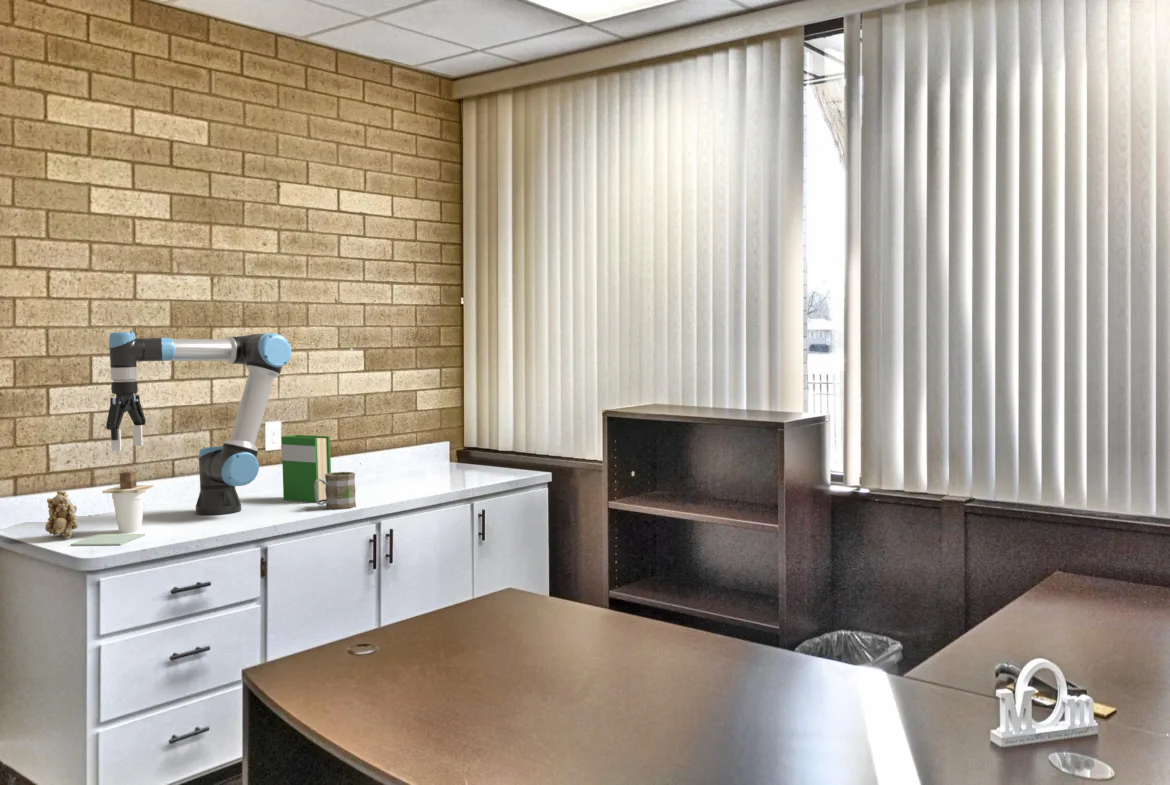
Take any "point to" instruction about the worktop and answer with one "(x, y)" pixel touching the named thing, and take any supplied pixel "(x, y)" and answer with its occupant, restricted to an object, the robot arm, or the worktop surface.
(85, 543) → the mat
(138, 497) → the foam cup
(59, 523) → the mineral formation
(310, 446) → the hardback book
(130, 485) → the lid
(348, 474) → the mug
